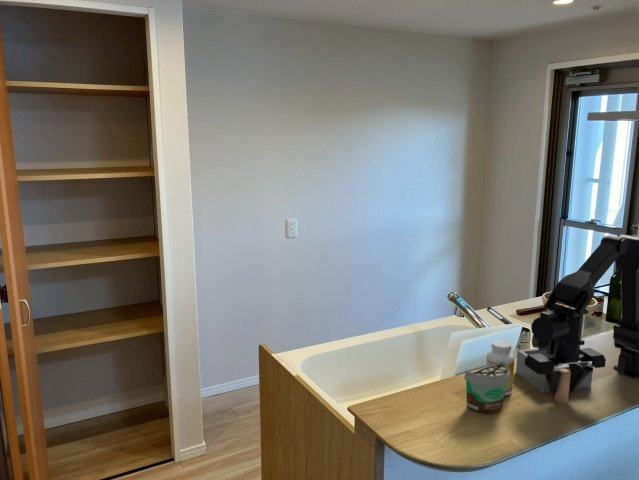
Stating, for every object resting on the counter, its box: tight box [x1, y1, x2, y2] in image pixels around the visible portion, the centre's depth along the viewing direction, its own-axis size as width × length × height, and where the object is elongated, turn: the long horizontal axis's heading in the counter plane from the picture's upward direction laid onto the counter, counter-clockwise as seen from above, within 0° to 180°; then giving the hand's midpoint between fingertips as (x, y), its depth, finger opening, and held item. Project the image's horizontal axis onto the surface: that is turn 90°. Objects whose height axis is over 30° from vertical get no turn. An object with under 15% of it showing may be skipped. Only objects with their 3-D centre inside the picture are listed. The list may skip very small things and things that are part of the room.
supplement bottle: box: [485, 339, 515, 397], centre depth 131 cm, size 7×7×13 cm
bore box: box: [515, 348, 594, 394], centre depth 138 cm, size 14×12×6 cm
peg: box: [553, 369, 571, 405], centre depth 126 cm, size 3×3×8 cm
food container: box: [464, 361, 510, 415], centre depth 122 cm, size 12×6×10 cm, turn 117°
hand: (561, 392), depth 127 cm, fingers open, 5 cm apart
